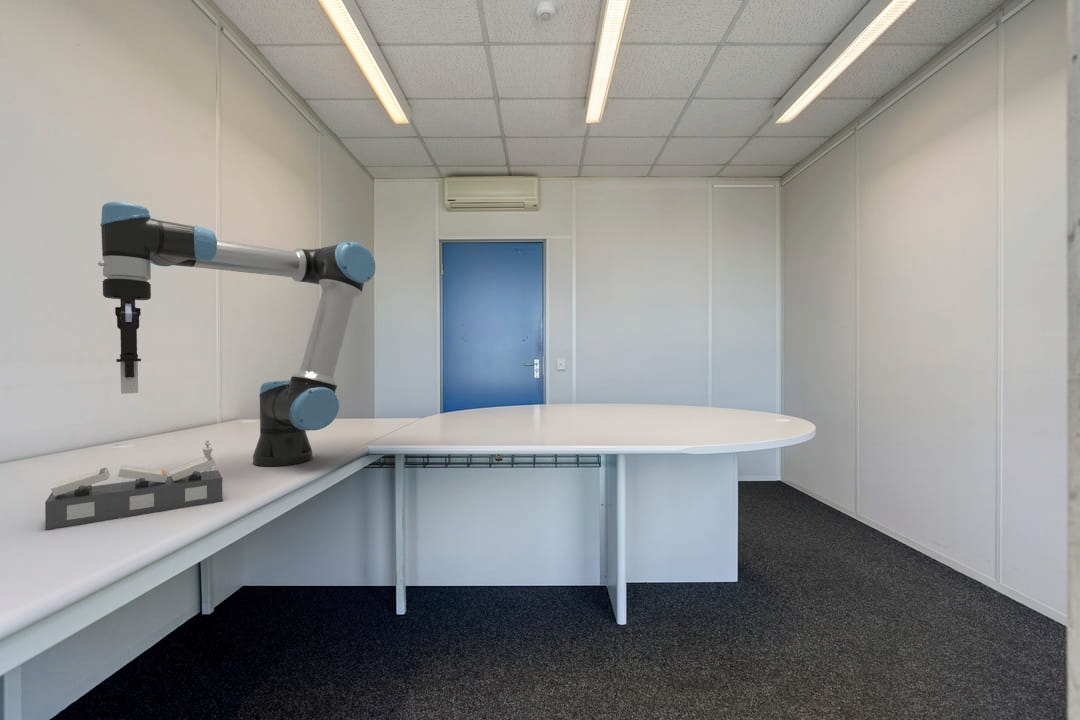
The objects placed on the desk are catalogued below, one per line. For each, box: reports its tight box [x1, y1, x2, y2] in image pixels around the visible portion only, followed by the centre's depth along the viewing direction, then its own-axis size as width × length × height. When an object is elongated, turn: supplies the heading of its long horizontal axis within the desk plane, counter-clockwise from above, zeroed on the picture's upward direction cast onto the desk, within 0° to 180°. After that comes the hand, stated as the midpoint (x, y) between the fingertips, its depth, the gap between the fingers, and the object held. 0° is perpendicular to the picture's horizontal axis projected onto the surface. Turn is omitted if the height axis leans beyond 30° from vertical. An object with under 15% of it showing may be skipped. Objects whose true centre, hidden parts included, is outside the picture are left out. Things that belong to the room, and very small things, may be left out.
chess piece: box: [202, 439, 213, 472], centre depth 114 cm, size 5×5×10 cm
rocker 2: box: [117, 464, 169, 483], centre depth 94 cm, size 8×4×2 cm, turn 130°
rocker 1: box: [50, 467, 111, 496], centre depth 89 cm, size 8×4×2 cm, turn 129°
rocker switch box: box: [44, 469, 223, 531], centre depth 94 cm, size 26×8×6 cm, turn 130°
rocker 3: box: [169, 455, 217, 481], centre depth 100 cm, size 8×4×2 cm, turn 130°
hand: (129, 393), depth 98 cm, fingers closed
